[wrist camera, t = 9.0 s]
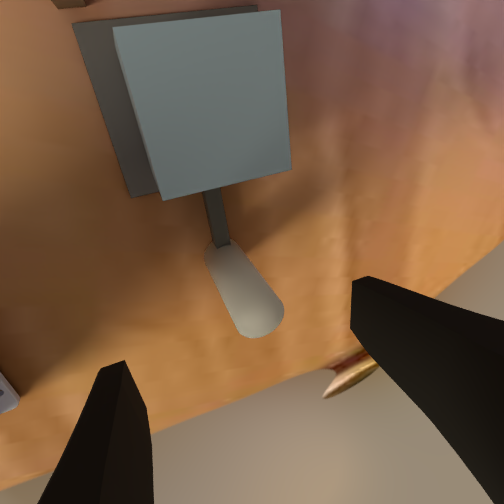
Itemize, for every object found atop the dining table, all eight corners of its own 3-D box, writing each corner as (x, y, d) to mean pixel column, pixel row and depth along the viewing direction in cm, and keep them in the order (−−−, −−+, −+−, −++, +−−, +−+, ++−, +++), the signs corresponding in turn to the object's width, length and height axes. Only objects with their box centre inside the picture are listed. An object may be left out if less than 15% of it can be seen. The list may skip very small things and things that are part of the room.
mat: (271, 164, 17) (273, 164, 17) (131, 197, 16) (130, 198, 15) (255, 6, 14) (257, 4, 14) (72, 24, 12) (71, 23, 12)
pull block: (264, 258, 19) (313, 317, 14) (184, 283, 18) (208, 356, 13) (233, 33, 14) (298, 0, 9) (115, 47, 13) (110, 18, 7)
